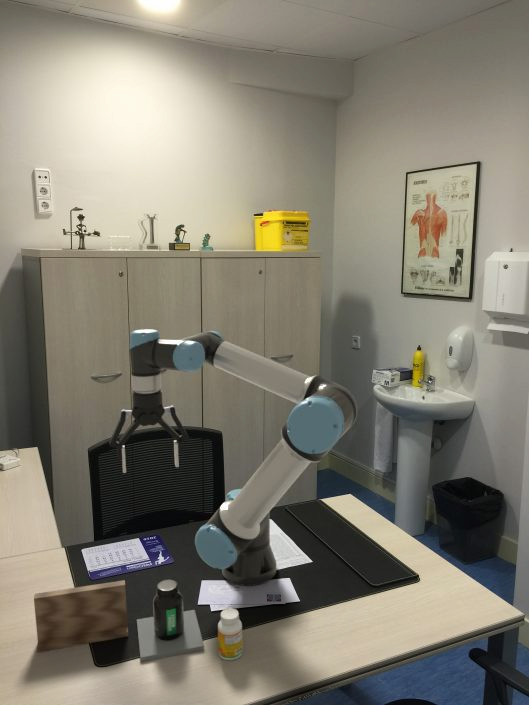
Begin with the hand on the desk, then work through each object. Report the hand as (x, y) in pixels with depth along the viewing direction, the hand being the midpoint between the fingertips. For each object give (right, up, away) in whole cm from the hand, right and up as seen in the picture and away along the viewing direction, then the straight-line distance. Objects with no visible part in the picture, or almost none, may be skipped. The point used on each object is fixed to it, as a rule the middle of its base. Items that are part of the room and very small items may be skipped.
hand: (150, 468), depth 159 cm
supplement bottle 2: (+22, -37, -24) cm, 49 cm away
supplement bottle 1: (+8, -35, -18) cm, 40 cm away
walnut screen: (-12, -36, -18) cm, 42 cm away
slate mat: (+8, -36, -18) cm, 41 cm away
